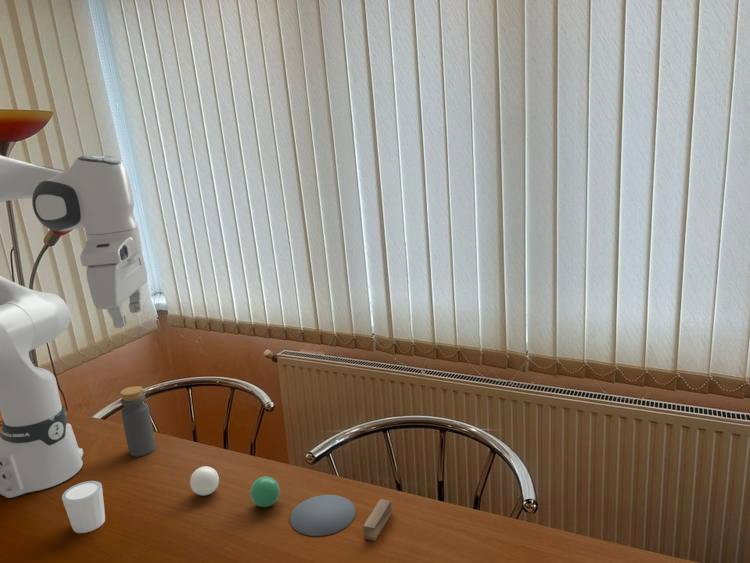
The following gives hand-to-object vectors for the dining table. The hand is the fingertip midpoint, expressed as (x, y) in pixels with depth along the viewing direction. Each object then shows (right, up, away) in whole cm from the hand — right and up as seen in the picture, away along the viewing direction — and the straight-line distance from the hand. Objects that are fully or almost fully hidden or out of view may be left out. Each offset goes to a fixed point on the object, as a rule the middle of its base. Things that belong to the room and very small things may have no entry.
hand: (128, 318), depth 113 cm
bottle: (-8, -32, +27) cm, 43 cm away
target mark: (+36, -36, -2) cm, 51 cm away
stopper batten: (+47, -36, -6) cm, 59 cm away
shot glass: (-8, -39, +1) cm, 40 cm away
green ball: (+25, -33, +2) cm, 41 cm away
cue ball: (+12, -33, +7) cm, 36 cm away
